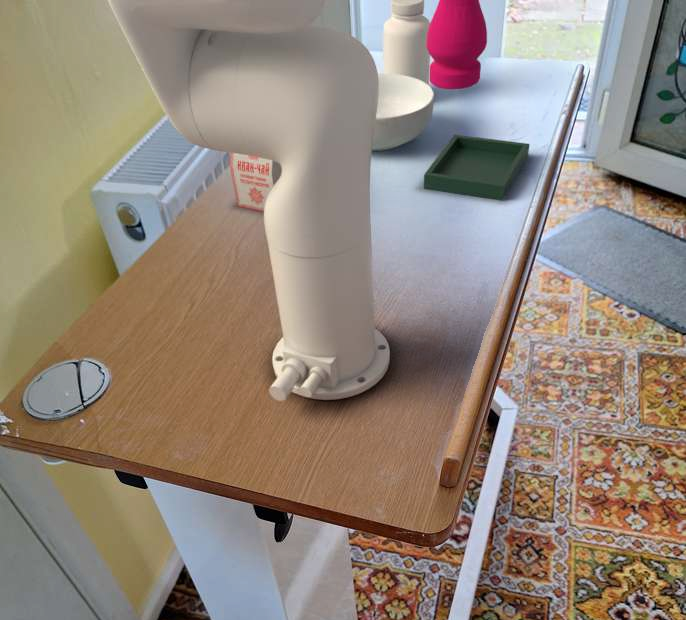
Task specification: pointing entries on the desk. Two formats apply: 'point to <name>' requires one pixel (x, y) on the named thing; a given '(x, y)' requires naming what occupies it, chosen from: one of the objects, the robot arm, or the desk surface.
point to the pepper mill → (456, 43)
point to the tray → (477, 167)
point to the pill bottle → (406, 40)
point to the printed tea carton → (253, 179)
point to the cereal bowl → (401, 110)
